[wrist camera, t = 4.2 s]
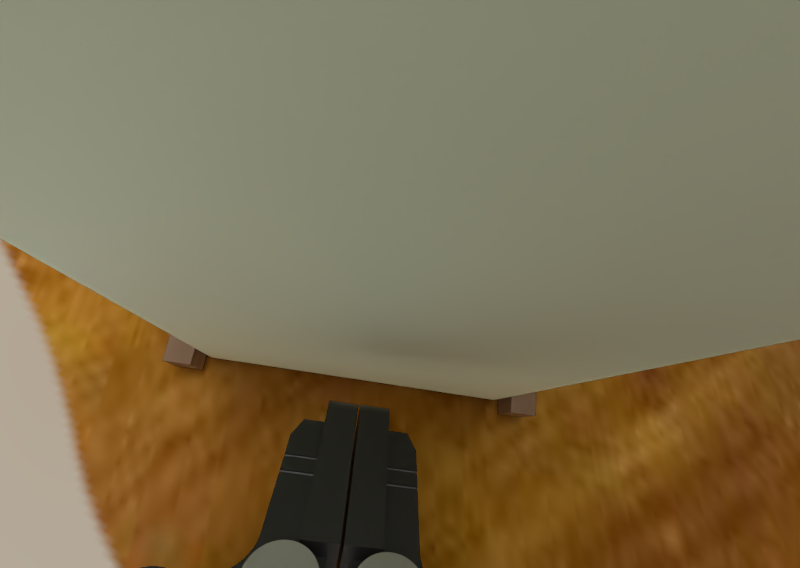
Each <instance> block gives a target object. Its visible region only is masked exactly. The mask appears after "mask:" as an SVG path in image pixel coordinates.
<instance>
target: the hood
mask: <svg viewBox="0 0 800 568" xmlns="http://www.w3.org/2000/svg"><path fill="white" fill-rule="evenodd" d="M0 239H2V240H4V241H6V242H7V243H9V244H11V245H13V246H15V247H16V248H18V249H20V250H22V251H23V252H25V253H27V254H29V255H30V256H32V257H34V258H36V259H38V260H39V261H41V262H43V263H45V264H46V265H48V266H50V267H52V268H54V269H55V270H57V271H59V272H61V273H62V274H64V275H66V276H68V277H70V278H71V279H73V280H75V281H77V282H78V283H80V284H82V285H84V286H85V287H87V288H89V289H91V290H93V291H94V292H96V293H98V294H100V295H101V296H103V297H105V298H107V299H109V300H110V301H112V302H114V303H116V304H117V305H119V306H121V307H123V308H124V309H126V310H128V311H130V312H132V313H133V314H135V315H137V316H139V317H140V318H142V319H144V320H146V321H148V322H149V323H151V324H153V325H155V326H156V327H158V328H160V329H162V330H163V331H165V332H167V333H169V334H171V335H172V336H174V337H176V338H178V339H179V340H181V341H183V342H185V343H187V344H188V345H190V346H192V347H194V348H195V349H197V350H199V351H201V352H203V353H204V354H206V355H208V356H210V357H212V358H218V359H225V360H232V361H238V362H245V363H252V364H258V365H265V366H272V367H278V368H285V369H291V370H298V371H305V372H311V373H318V374H325V375H331V376H338V377H344V378H351V379H358V380H364V381H371V382H378V383H384V384H391V385H398V386H404V387H411V388H417V389H424V390H431V391H437V392H444V393H451V394H457V395H464V396H471V397H477V398H484V399H490V400H497V399H502V398H507V397H512V396H517V395H522V394H527V393H532V392H537V391H542V390H547V389H552V388H557V387H563V386H568V385H573V384H578V383H583V382H588V381H593V380H598V379H603V378H608V377H613V376H618V375H623V374H628V373H633V372H638V371H643V370H648V369H653V368H658V367H663V366H668V365H673V364H678V363H684V362H689V361H694V360H699V359H704V358H709V357H714V356H719V355H724V354H729V353H734V352H739V351H744V350H749V349H754V348H759V347H764V346H769V345H774V344H779V343H784V342H789V341H794V340H800V0H0Z"/></svg>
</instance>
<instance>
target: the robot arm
mask: <svg viewBox="0 0 800 568" xmlns="http://www.w3.org/2000/svg"><path fill="white" fill-rule="evenodd" d="M357 411H358V405H357V404H350V403H343V402H336V401H330V402H329V406H328V410H327V415H326V419H325V422H321V421H314V420H307V419H304V420H303V421H302V422H301V423H300V425H299V426H298V427H297V428H296V429H295V430H294V431H293V432H292V433H291V435H290V438H289V442H288V445H287V448H286V452H285V456H284V458H283V462H282V465H281V468H280V473H279V475H278V478H277V481H276V485H275V488H274V491H273V495H272V498H271V501H270V504H269V508H268V511H267V514H266V518H265V521H264V524H263V528H262V531H261V534H260V537H259V539H258V541H257V543H256V545H255V547H254V548H253V549H252V551H251V552H250V553H249V554H248V555H247V556H246V557H245V558H244V559H243V560H242V561H241V562H239V563H238V564H237V565H235V566H233V567H232V568H423V567H422V563H421V560H420V548H419V520H418V493H417V474H416V472H417V465H416V450H415V448H414V446H413V444H412V442H411V440H410V438H409V436H408V434H407V433H400V432H393V431H389V409H385V408H378V407H372V406H365V405H361V406H360V410H359V415H358V421H357V426H356V419H357ZM355 427H356V431H355ZM354 434H355V437H354ZM142 568H164V567H158V566H148V567H142Z"/></svg>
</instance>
